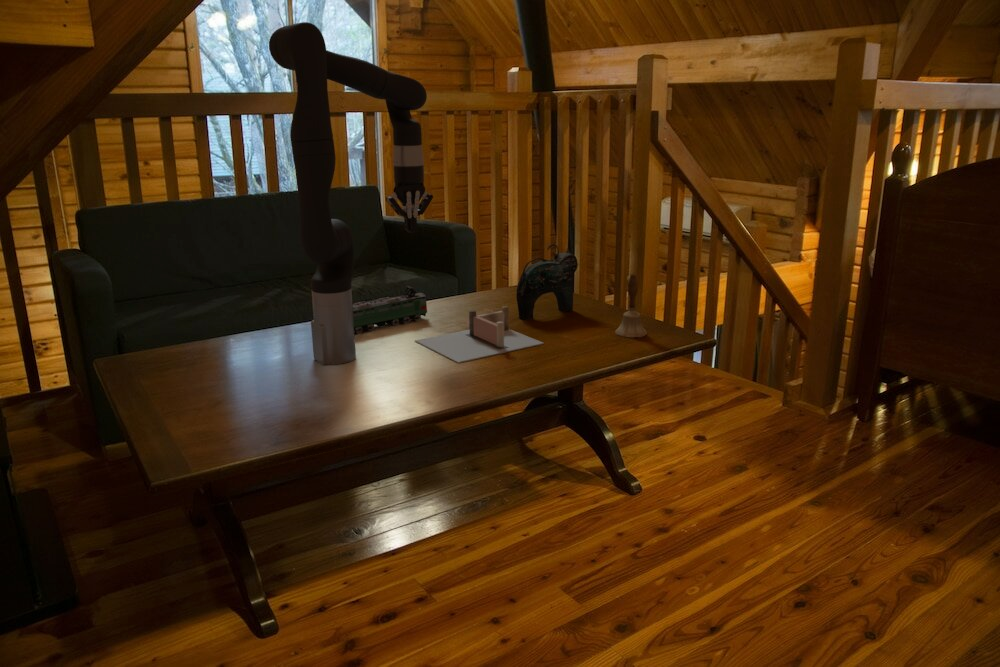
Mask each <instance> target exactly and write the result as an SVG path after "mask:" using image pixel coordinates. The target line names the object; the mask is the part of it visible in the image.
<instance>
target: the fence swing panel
mask: <svg viewBox="0 0 1000 667" xmlns="http://www.w3.org/2000/svg"><path fill="white" fill-rule="evenodd" d="M473 322H474V335H475V336H477V337H479V338H481V339H484V340H486V341H488V342H490V343H492V344H495V345H497V346H498V347H503V346H504V322H497V324H496V323H494V322H491V321H489V320H486V319H484V318H481V317H479V316H477V315H476V316H474V317H473Z"/></svg>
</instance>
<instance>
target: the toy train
mask: <svg viewBox="0 0 1000 667" xmlns="http://www.w3.org/2000/svg"><path fill="white" fill-rule="evenodd" d="M402 293H403V295H400V296H392V297H391V296H390V295H386V296H380V297H375V298H374V300H373V299H372V298H370V299H364V300H359V301H356V302H355V303H352V305H353V320H354V333H355V334H357V335H359V334H361V333H362V332H363V331H368V332H373V331H374V329H375V325H376V326H377V327H384V326H386V325H392V326H393V327H397V326H399V324H400V323H403V324H409V323H411V321H413V320H414V321H415V322H419V321H421V320H422V316H423V317H426V316H427V313H428V305H427V295H425V293H422V292H417V291H416V290H415V289H414V287H413V286H410V285H406V286H405V289H404V291H403V292H402Z"/></svg>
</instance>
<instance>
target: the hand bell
mask: <svg viewBox="0 0 1000 667" xmlns="http://www.w3.org/2000/svg"><path fill="white" fill-rule="evenodd" d="M638 290H639V284H638V279H637V274H635V273H631V274H630V277H629V279H628V282H627V291H628V292H627V293H628V297H629V303H628V310H627V311H625V312H624V313H623V315H622V320H621V322H620V324H619V327H618V328H616V329H615V331H614V333H615V335H616V336H620V337H622V338H628V337H629V339H635V338H634V337H639V338H643V336H644V337H646V336H647V334H648V332H647V330H646V329H645V328H644V327H643V324H642V318H641V313H640V312H638V311H637V310H636V299H637V298H636V297H637V294H638ZM645 335H646V336H645Z"/></svg>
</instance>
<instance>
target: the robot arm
mask: <svg viewBox="0 0 1000 667" xmlns="http://www.w3.org/2000/svg"><path fill="white" fill-rule="evenodd" d="M268 48H269V50H268V51H269V53H270V56H271V57H272V59H273V61H274V62H275V63H276V64H277V65H278V66H280V67H281V68H283V69H285V70H288V71H294V73H295V82H296V88H297V89H296V92H297V93H296V95H297V96H296V103H295V107H294V112H293V115H292V118H291V124H290V134H289V135H290V138H289V139H290V145H291V151H292V160H293V163H294V165H293V166H294V170H295V179H296V186H297V187H296V188H297V189H296V190H297V194H298V195H297V196H298V204H299V229H300V230H299V232H300V243H301V248H302V251H303V253H304V255H305V257H306V258H307V259H308V260H310V261H311V262H312V263H313V264H318V265H317V268H316V271H315V272H314V274H313V275H312V277H311V279H310V287H311V289H310V290H311V300H312V314H313V315H312V316H313V319H312V320H311V321H310V326H311V327H310V329H311V339H312V352H313V354H312V355H313V359H314V360H315V361H317V362H318V363H319V364H321V365H323V366H325V365H340V364H344V363H349V362H352V361H354V360H355V359H356V358H357V353H356V351H357V350H356V349H357V348H356V337H355V332H354V320H353V305H352V304H353V294H352V293H353V292H352V280H353V277H354V271H355V264H354V263H355V261H354V260H355V257H354V256H355V254H354V249H355V248H354V240H353V234H352V232H351V229H350V228H349V226H348V225H347V224H346V223H345V222H344V221H342V220H341V219H338V218H332V216H331V209H330V193H331V188H332V184H333V180H334V175H335V170H336V150H335V142H334V134H333V129H332V121H331V119H332V118H331V112H330V111H331V110H330V100H329V94H328V93H329V92H328V91H329V90H328V81H331V82H335V83H336V84H340V85H342V86H345V87H348V88H350V89H352V90H354V91H357V92H359V93H362V94H364V95H366V96H369V97H371V98H374V99H378V100H382V101H383V100H385V105H386V109H387V112H388V116H389V117H388V118H389V121H390V123H391V127H392V129H393V130H392V138H393V141H392V142H393V154H392V164H393V182H394V188H393V193H391V195H390V196H386V198H385V201H386V202H387V204H388V205H389V206H390V207H391V209H392V210H393V211H394V212H395V213H396V215H397V216H400V217H403V220H404V221H403V222H404V231H406V232H407V233H409V234H412V233H416V231H417V229H418V223H417V222H418V217H419V216H422V215H424V213H425V212H426V210H427V208H428V207H429V206H430V204H431V202H432V200H433V199H434V195H433V194H430V193H429V192H427V191H426V187H425V185H424V182H425V170H424V169H425V168H424V166H425V165H424V152H423V143H422V142H423V141H422V138H423V137H422V136H423V135H422V125H421V124H420V122H419V121H417V120H415V119H413V117H412V114H411V113H412V112H411V111H416V110H420V109H421V108H422V107H424V105H425V104H426V102H427V99H428V98H427V97H428V96H427V94H428V93H427V90H426V89H425V87H424V85H423V84H422V83H421V82H420V81H418V80H417V79H414V78H411V77H408V76H406V75H405V76H404V75H403V74H399V73H394V72H391V71H389V70H386V69H385V68H383V67H381V66H378V65H376V64H374V63H372V62H369V61H366V60H364V59H361V58H359V57H358V58H357V57H353V56H350V55H344V54H340V53H336V52H333V51H330V50H328V49H327V46H326V41H325V38H324V35H323V33H322V31H321V30H320V29H319V28H318V27H317V26H316V25H315V24H313V23H311V22H308V21H302V22H297V23H296V22H295V23H291V24H287V25H284V26H281V27H279V28H277V29H276V30H275V31H273V33H272V34H271V36H270V38H269V42H268ZM398 201H399V202H400V204H399V203H398Z"/></svg>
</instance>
